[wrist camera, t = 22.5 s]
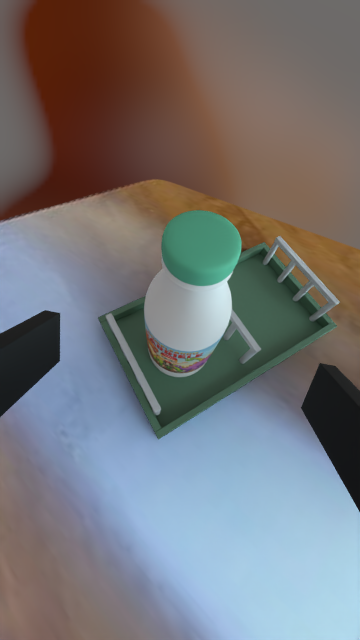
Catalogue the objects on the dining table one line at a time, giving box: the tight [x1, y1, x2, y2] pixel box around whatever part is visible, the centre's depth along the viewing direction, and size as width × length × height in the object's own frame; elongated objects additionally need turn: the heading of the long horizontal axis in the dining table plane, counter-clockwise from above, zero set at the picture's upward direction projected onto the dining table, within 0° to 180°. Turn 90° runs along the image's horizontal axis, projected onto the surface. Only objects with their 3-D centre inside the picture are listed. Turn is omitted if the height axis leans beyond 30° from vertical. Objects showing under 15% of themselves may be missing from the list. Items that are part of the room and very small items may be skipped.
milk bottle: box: [144, 210, 241, 377], centre depth 23 cm, size 8×8×20 cm
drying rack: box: [98, 236, 340, 439], centre depth 32 cm, size 27×16×6 cm, turn 120°
